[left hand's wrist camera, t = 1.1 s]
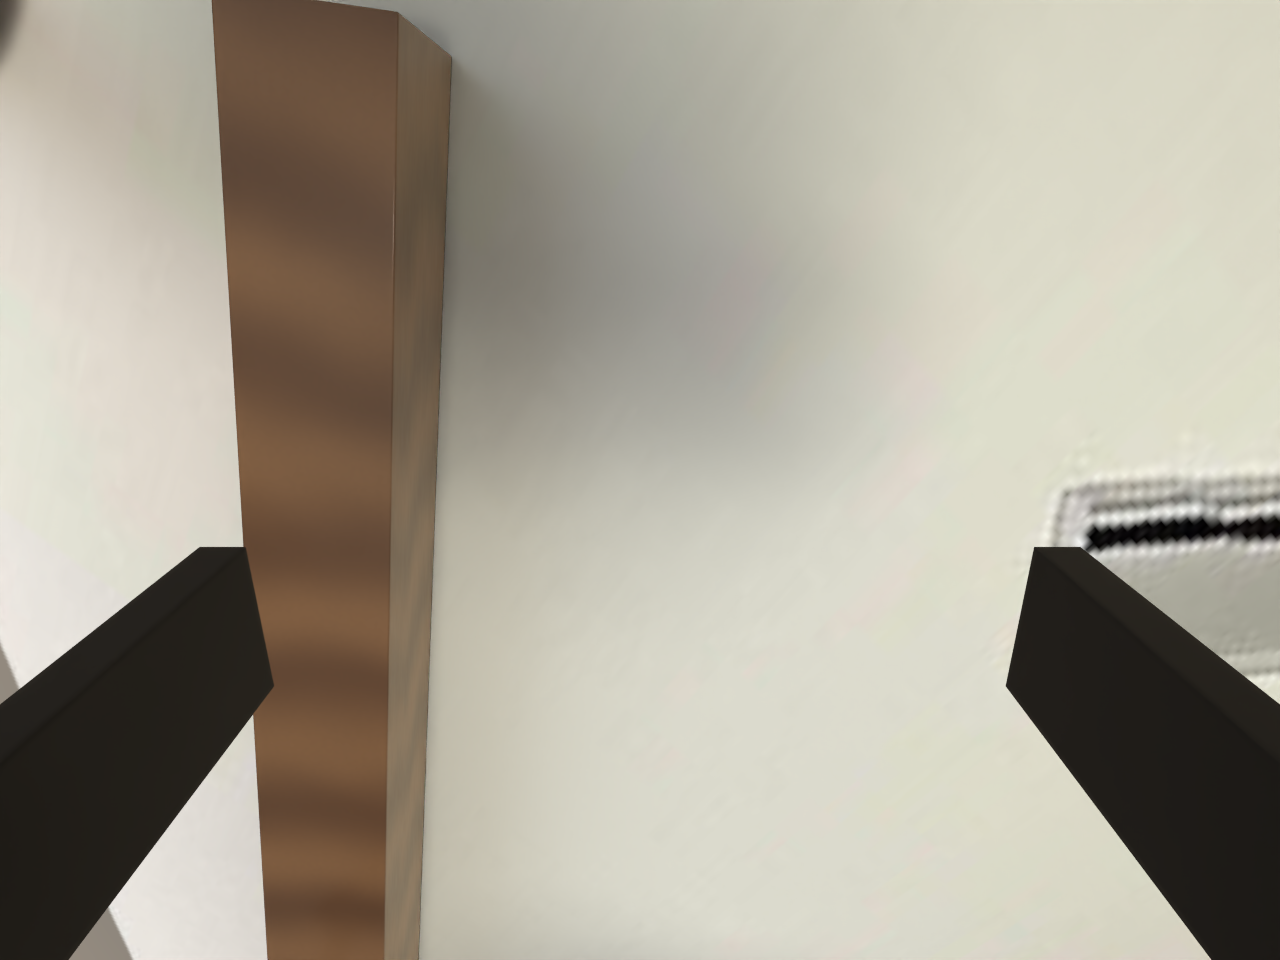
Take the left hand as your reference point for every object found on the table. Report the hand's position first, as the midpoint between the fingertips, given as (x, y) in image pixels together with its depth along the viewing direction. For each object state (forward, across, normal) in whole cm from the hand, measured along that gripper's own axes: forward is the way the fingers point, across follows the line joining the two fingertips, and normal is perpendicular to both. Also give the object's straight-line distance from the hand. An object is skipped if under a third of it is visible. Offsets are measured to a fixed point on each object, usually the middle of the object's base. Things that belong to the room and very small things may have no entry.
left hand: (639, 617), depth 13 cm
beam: (+23, -15, -20) cm, 34 cm away
